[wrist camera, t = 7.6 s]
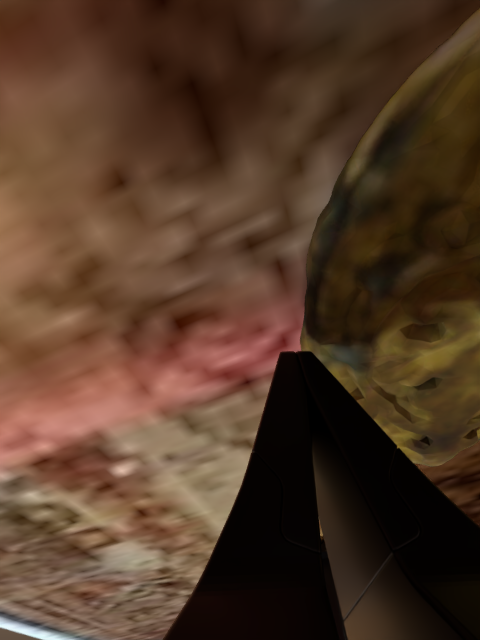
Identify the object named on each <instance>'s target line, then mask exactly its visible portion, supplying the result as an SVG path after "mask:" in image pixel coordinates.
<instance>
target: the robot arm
mask: <svg viewBox="0 0 480 640" xmlns="http://www.w3.org/2000/svg"><path fill="white" fill-rule="evenodd" d="M318 516H319V518H318ZM319 520H320V524H321V528H322V533H323V537H324V541H325V544H321V539H320V528H319ZM163 640H480V527H479V526H478V525H477V524H476V523H475V522H474V521H473V520H472V519H471V518H470V517H468V516H467V515H466V514H465V513H464V512H463V511H462V510H461V509H460V508H459V507H458V506H457V505H455V504H454V503H453V502H452V501H451V500H450V499H449V498H448V497H447V496H446V495H445V494H444V493H443V492H442V491H441V490H440V489H439V488H438V487H436V486H435V485H434V484H433V483H432V482H431V481H430V480H429V479H428V478H427V477H426V476H425V475H424V474H423V473H422V472H421V470H420V469H419V468H418V467H417V466H416V465H415V464H414V463H413V462H412V461H411V460H410V459H409V458H408V457H407V456H406V454H405V453H404V452H403V451H402V450H401V449H400V448H397V445H396V444H395V443H394V441H393V440H392V439H391V438H390V437H389V436H388V435H387V434H386V433H385V432H384V430H383V429H382V428H381V427H380V426H379V425H378V424H377V423H376V422H375V421H374V419H373V418H372V417H371V416H370V415H369V414H368V413H367V412H366V411H365V410H364V408H363V407H362V406H361V405H360V404H359V403H358V402H357V401H356V400H355V399H354V397H353V396H352V395H351V394H350V393H349V392H348V391H347V390H346V389H345V388H344V386H343V385H342V384H341V383H340V382H339V381H338V380H337V379H336V378H335V377H334V375H333V374H332V373H331V372H330V371H329V370H328V369H327V368H326V367H325V366H324V365H323V363H322V362H321V361H320V360H319V359H318V358H317V357H316V356H315V355H314V354H313V353H312V352H311V351H298V352H296V353H295V352H294V351H286V352H280V354H279V358H278V361H277V365H276V368H275V372H274V375H273V379H272V382H271V386H270V389H269V393H268V396H267V400H266V403H265V407H264V411H263V414H262V418H261V421H260V425H259V428H258V432H257V435H256V439H255V442H254V446H253V449H252V453H251V456H250V459H249V463H248V466H247V469H246V473H245V476H244V479H243V482H242V485H241V488H240V490H239V492H238V495H237V497H236V500H235V502H234V505H233V507H232V510H231V512H230V514H229V516H228V518H227V521H226V523H225V525H224V527H223V530H222V532H221V534H220V536H219V539H218V541H217V543H216V545H215V548H214V550H213V552H212V554H211V557H210V559H209V561H208V563H207V565H206V567H205V570H204V572H203V574H202V576H201V578H200V580H199V581H198V583H197V585H196V587H195V589H194V591H193V593H192V594H191V596H190V597H189V599H188V601H187V602H186V604H185V605H184V607H183V608H182V610H181V612H180V613H179V615H178V616H177V618H176V619H175V621H174V623H173V624H172V626H171V627H170V629H169V630H168V632H167V634H166V635H165V637H164V638H163Z"/></svg>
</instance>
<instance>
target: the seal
mask: <svg viewBox="0 0 480 640" xmlns="http://www.w3.org/2000/svg"><path fill="white" fill-rule="evenodd" d="M306 273H307V291H306V296H305V312H304V321H303V327H302V331H301V336H300V344H301V350H302V351H311V352H312V353H313V354H314V355H315V356H316V357H317V358H318V359H319V360H320V361H321V362H322V363H323V365H324V366H325V367H326V368H327V369H328V370H329V371H330V372H331V373H332V374H333V375H334V377H335V378H336V379H337V380H338V381H339V382H340V383H341V384H342V385H343V386H344V388H345V389H346V390H347V391H348V392H349V393H350V394H351V395H352V396H353V397H354V399H355V400H356V401H357V402H358V403H359V404H360V405H361V406H362V407H363V408H364V410H365V411H366V412H367V413H368V414H369V415H370V416H371V417H372V418H373V419H374V421H375V422H376V423H377V424H378V425H379V426H380V427H381V428H382V429H383V430H384V432H385V433H386V434H387V435H388V436H389V437H390V438H391V439H392V440H393V441H394V443H395V444H396V445H397V448H400V449H401V450H402V451H403V452H404V453H405V454H406V456H407V457H408V458H409V459H410V460H411V461H412V462H413V463H415V464H423V465H427V466H431V467H432V466H439V465H442V464H444V463H445V462H447V461H449V460H451V459H452V458H453V457H454V456H455V455H456V454H458V453H459V452H460V451H462V450H464V449H467V448H469V447H471V446H473V445H474V444H476V443H477V442H478V441H479V440H480V8H479V9H478V10H477V11H476V12H475V13H474V14H472V15H471V16H470V17H469V18H468V19H467V20H466V21H465V22H464V23H463V24H462V25H461V26H460V27H459V28H458V29H457V30H456V31H455V33H454V34H453V35H452V36H451V37H450V38H449V39H448V40H447V41H446V42H444V43H443V44H442V45H440V46H439V47H438V48H437V49H436V50H435V51H434V52H433V53H432V54H431V55H430V56H429V57H428V58H427V59H426V60H425V61H424V62H423V63H422V64H421V65H420V66H419V67H418V68H417V69H416V70H415V71H414V72H413V73H412V74H411V75H410V77H409V78H408V79H407V80H406V81H405V82H404V84H403V85H402V86H401V87H400V88H399V90H398V91H397V92H396V93H395V94H394V95H393V96H392V97H391V99H390V100H389V101H388V103H387V104H386V105H385V107H384V108H383V109H382V110H381V112H380V113H379V114H378V115H377V117H376V118H375V120H374V122H373V123H372V125H371V126H370V127H369V129H368V130H367V131H366V133H365V134H364V135H363V137H362V138H361V140H360V141H359V143H358V145H357V147H356V149H355V150H354V152H353V154H352V156H351V157H350V159H349V160H348V161H347V163H346V165H345V167H344V168H343V170H342V172H341V174H340V175H339V177H338V179H337V181H336V183H335V185H334V188H333V192H332V195H331V198H330V201H329V203H328V204H327V206H326V207H325V208H324V210H323V211H322V213H321V214H320V216H319V218H318V220H317V223H316V227H315V230H314V232H313V236H312V239H311V243H310V247H309V251H308V255H307V263H306Z"/></svg>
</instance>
